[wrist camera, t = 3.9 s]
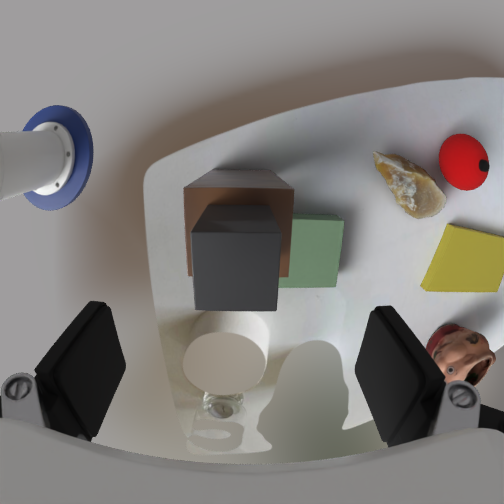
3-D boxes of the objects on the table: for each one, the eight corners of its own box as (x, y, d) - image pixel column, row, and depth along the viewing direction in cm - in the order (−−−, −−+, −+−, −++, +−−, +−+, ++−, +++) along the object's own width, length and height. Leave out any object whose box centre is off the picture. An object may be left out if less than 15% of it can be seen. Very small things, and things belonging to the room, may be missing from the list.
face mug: (482, 308, 48) (516, 340, 35) (466, 349, 53) (494, 383, 40) (420, 322, 48) (455, 365, 35) (405, 367, 52) (432, 410, 39)
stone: (447, 227, 34) (379, 170, 31) (419, 224, 41) (353, 175, 37) (458, 186, 34) (394, 126, 31) (430, 187, 40) (368, 136, 37)
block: (208, 262, 22) (194, 310, 15) (207, 204, 20) (190, 231, 14) (267, 262, 22) (276, 311, 16) (269, 205, 20) (281, 232, 14)
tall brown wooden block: (212, 218, 40) (187, 276, 22) (212, 169, 38) (183, 187, 20) (268, 219, 40) (288, 277, 23) (270, 170, 38) (294, 188, 20)
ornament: (427, 184, 39) (466, 196, 29) (427, 130, 36) (467, 130, 26) (463, 186, 39) (501, 198, 29) (464, 136, 36) (503, 139, 26)
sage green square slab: (266, 277, 43) (268, 287, 40) (269, 212, 40) (271, 218, 37) (329, 277, 44) (335, 287, 41) (337, 214, 40) (344, 220, 37)
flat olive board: (507, 237, 42) (438, 221, 41) (513, 240, 40) (445, 225, 39) (491, 287, 47) (420, 285, 45) (497, 292, 45) (426, 291, 43)
